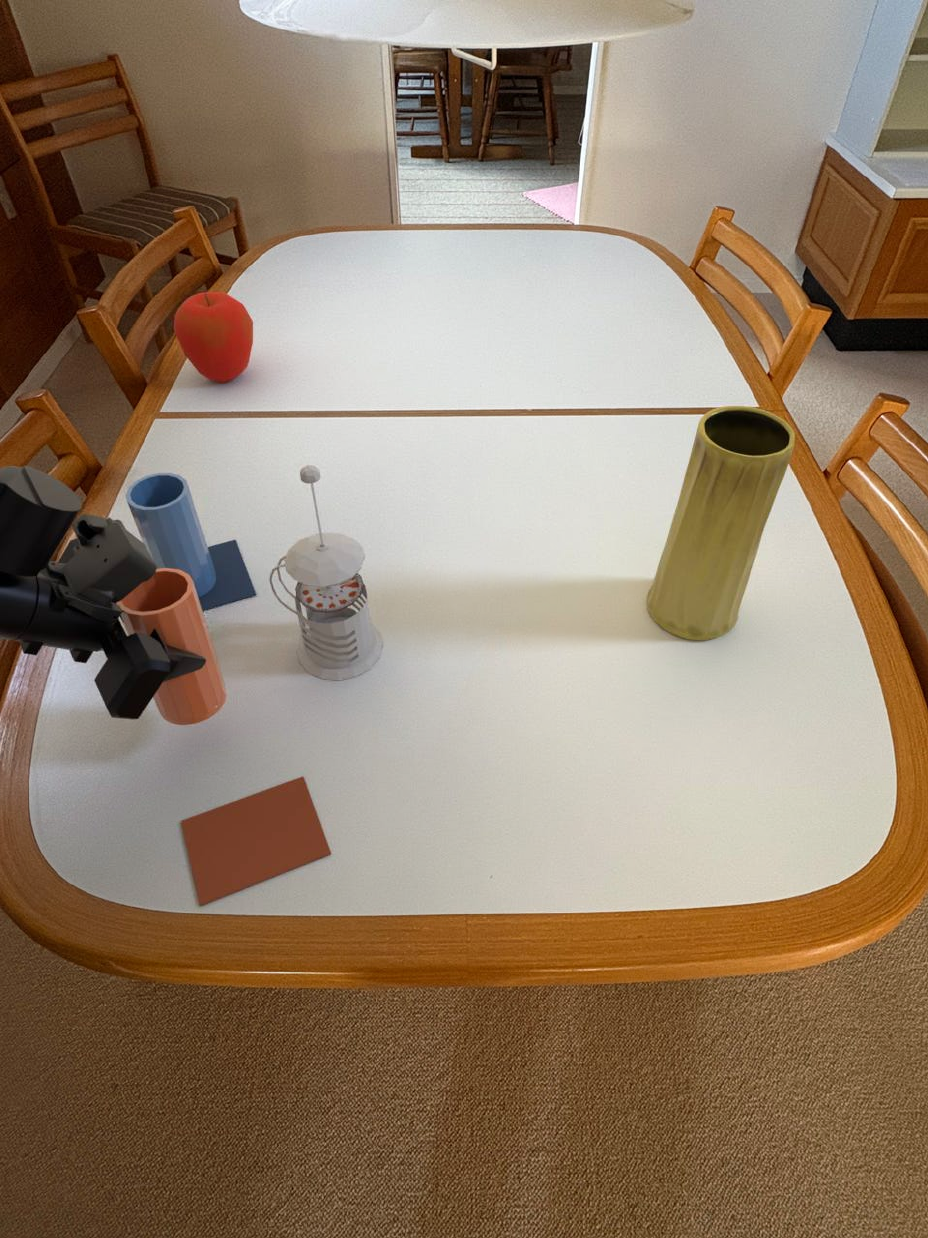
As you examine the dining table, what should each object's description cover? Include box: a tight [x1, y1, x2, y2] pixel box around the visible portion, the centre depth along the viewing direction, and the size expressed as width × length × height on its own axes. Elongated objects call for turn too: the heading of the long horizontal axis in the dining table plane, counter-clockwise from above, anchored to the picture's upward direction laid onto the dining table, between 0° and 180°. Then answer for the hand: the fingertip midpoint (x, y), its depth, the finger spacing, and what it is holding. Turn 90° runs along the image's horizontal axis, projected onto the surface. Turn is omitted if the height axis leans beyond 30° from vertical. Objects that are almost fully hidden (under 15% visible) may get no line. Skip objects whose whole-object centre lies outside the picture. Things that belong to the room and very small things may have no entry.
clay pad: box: [180, 775, 332, 907], centre depth 74 cm, size 12×9×1 cm
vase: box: [646, 405, 796, 641], centre depth 85 cm, size 11×11×25 cm
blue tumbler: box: [125, 472, 216, 598], centre depth 92 cm, size 7×7×14 cm
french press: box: [268, 464, 384, 682], centre depth 81 cm, size 10×12×25 cm
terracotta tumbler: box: [116, 568, 228, 726], centre depth 74 cm, size 7×7×14 cm
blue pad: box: [199, 539, 257, 612], centre depth 97 cm, size 14×11×1 cm
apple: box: [173, 291, 254, 384], centre depth 125 cm, size 12×12×14 cm
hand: (189, 639), depth 74 cm, fingers closed on terracotta tumbler, 7 cm apart
